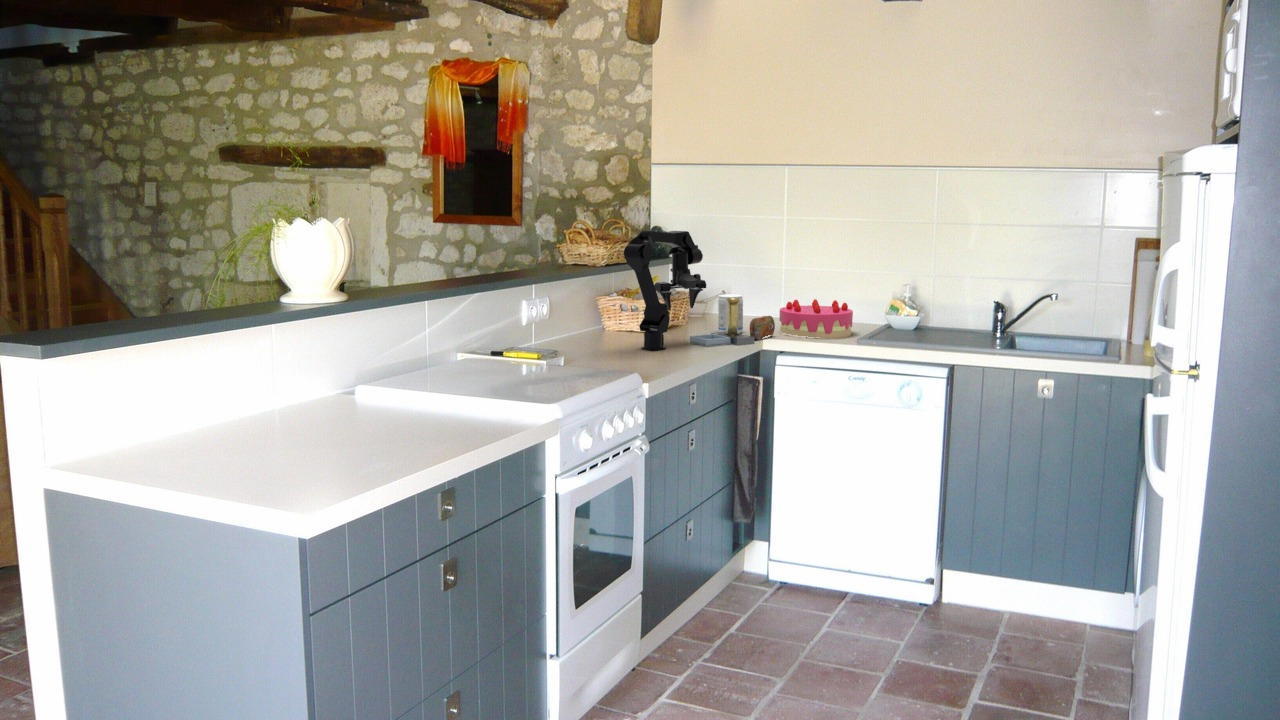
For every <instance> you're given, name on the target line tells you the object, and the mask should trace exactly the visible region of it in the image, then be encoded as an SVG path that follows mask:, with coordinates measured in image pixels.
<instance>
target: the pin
mask: <svg viewBox="0 0 1280 720" xmlns="http://www.w3.org/2000/svg"><path fill="white" fill-rule="evenodd" d="M727 301H728V336H737V330H738V302H739V301H740V298H727Z"/></svg>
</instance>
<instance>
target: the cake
mask: <svg viewBox="0 0 1280 720" xmlns="http://www.w3.org/2000/svg"><path fill="white" fill-rule="evenodd" d="M853 315H854V311H853V309H851V308H849V306H848V304H847V303H846V302H843V303H842V305H841V307H840V305H839V302H838V300H836V299H835V300H833V301H832V304H831V306H828V305H819V302H818V299H816V298H814V299H813V300H812V302H811V305H809V304H808V305H801V304H800V302H799V300H798V299H794V300H793V302H792V301H787V303H786V305H785V307H784V306H783V307H781V308H780V309H779V322H780V331H781V332H782V333H786V334H791V335H798V336H808V337H820V338H834V339H842V338H848V337H851V334H852V333H851V332H852V331H851V330H852V328H853V321H854V320H853V319H854V317H853Z"/></svg>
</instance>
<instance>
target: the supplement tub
mask: <svg viewBox="0 0 1280 720" xmlns="http://www.w3.org/2000/svg"><path fill="white" fill-rule="evenodd" d="M727 298H740V301H739V302H738V330H737V333H739V334H743V331H744V321H743V320H744V299H743V295H742V294H736V293H734V294H733V293H726V294H719V295H718V302H717V303H718V304H717V305H718V310H717V312H718V313H717V315H718V316H717V317H718V318H717V319H718V322H717V323H718V325H717V326H718V327H717V329H718V331H717V332H726V331H728V301H727Z"/></svg>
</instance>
